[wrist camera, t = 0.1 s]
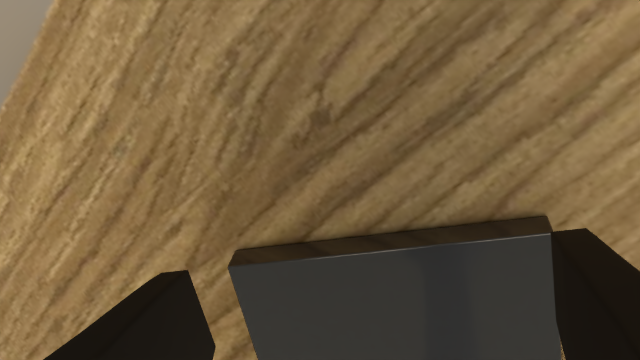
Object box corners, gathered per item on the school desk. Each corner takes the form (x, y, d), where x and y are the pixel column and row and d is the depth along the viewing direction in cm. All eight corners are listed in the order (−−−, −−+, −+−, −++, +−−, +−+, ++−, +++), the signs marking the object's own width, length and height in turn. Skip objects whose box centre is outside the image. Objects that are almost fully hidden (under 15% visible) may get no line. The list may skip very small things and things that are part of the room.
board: (557, 374, 25) (564, 396, 24) (279, 390, 27) (274, 411, 26) (547, 215, 22) (554, 232, 21) (235, 250, 24) (226, 266, 23)
